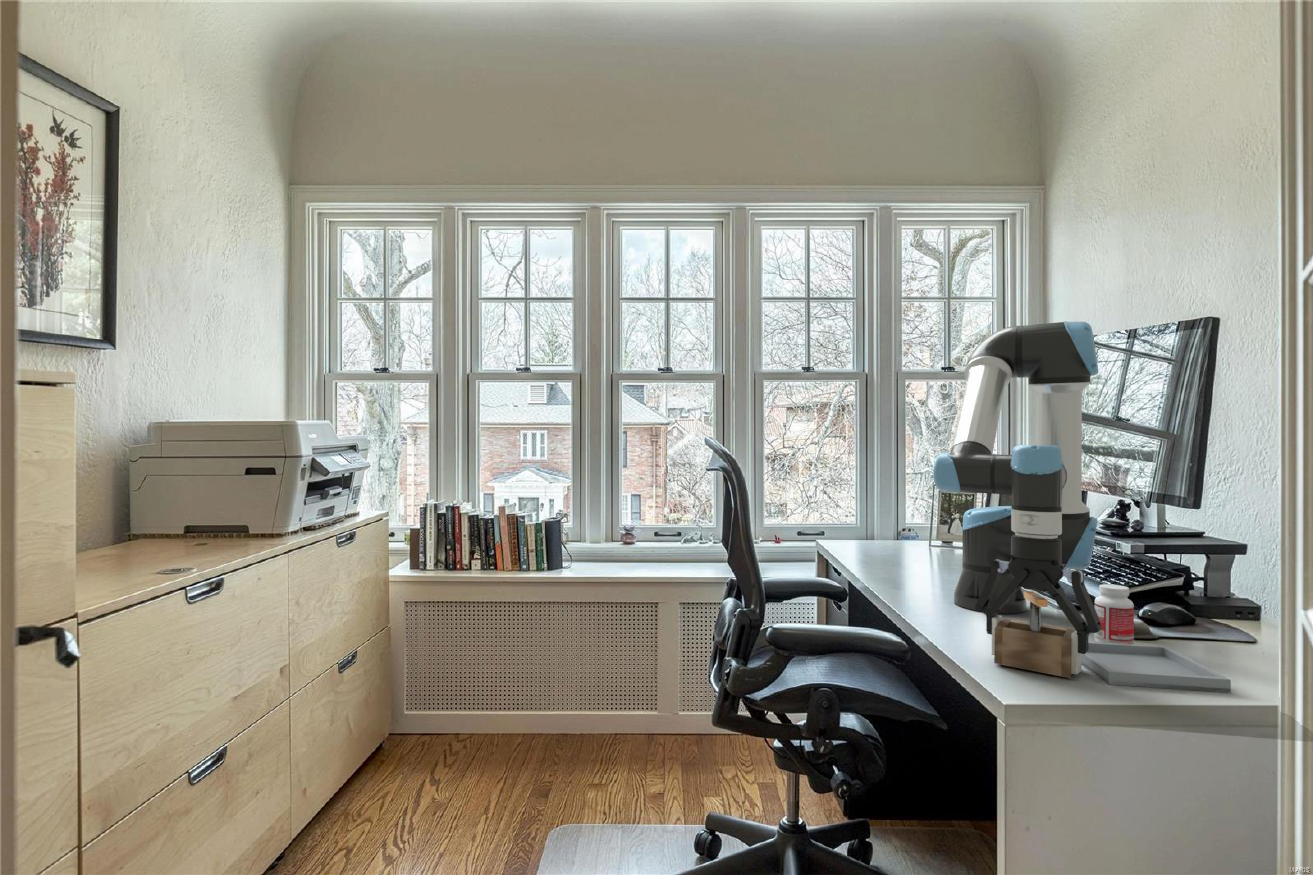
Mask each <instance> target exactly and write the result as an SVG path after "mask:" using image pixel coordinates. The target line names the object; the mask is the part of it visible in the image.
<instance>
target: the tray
mask: <svg viewBox="0 0 1313 875" xmlns="http://www.w3.org/2000/svg"><path fill="white" fill-rule="evenodd" d="M1088 644H1089V649H1088V652H1087V653H1086V654H1081V666H1083V667H1084V668H1085V669H1087V670H1088V671H1089V672H1091V673H1092V674H1094V675H1095V676H1097V677H1098V678H1099V679H1101V680H1102V681H1103V682H1105V683H1106V684H1108V685H1111V686H1112V685H1113V686H1115V685H1116V686H1124V687H1125V686H1129V687H1141V688H1142V687H1144V688H1156V689H1158V688H1159V689H1170V690H1171V689H1173V690H1184V691H1185V690H1186V691H1187V690H1188V691H1199V692H1200V691H1201V692H1213V691H1221V692H1220V693H1228V692H1231V690H1232V689H1231V687H1232V686H1231V685H1232V683H1231V682H1232V680H1231V679H1230V678H1228V677H1227V676H1224V675H1222V674H1220V673H1219V672H1217V671H1215V670H1213V669H1211V668H1209V667H1207V666H1205V665H1203V664H1201V663H1200V662H1197V660H1196V661H1195V660H1194V659H1192V658H1190V657H1188V656H1186V655H1184V654H1182V653H1180V652H1178V651H1177V650H1174V649H1173V648H1171V647H1169V646H1166V645H1153V644H1135V643H1134V644H1120V643H1103V642H1096V641H1089V643H1088Z"/></svg>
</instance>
